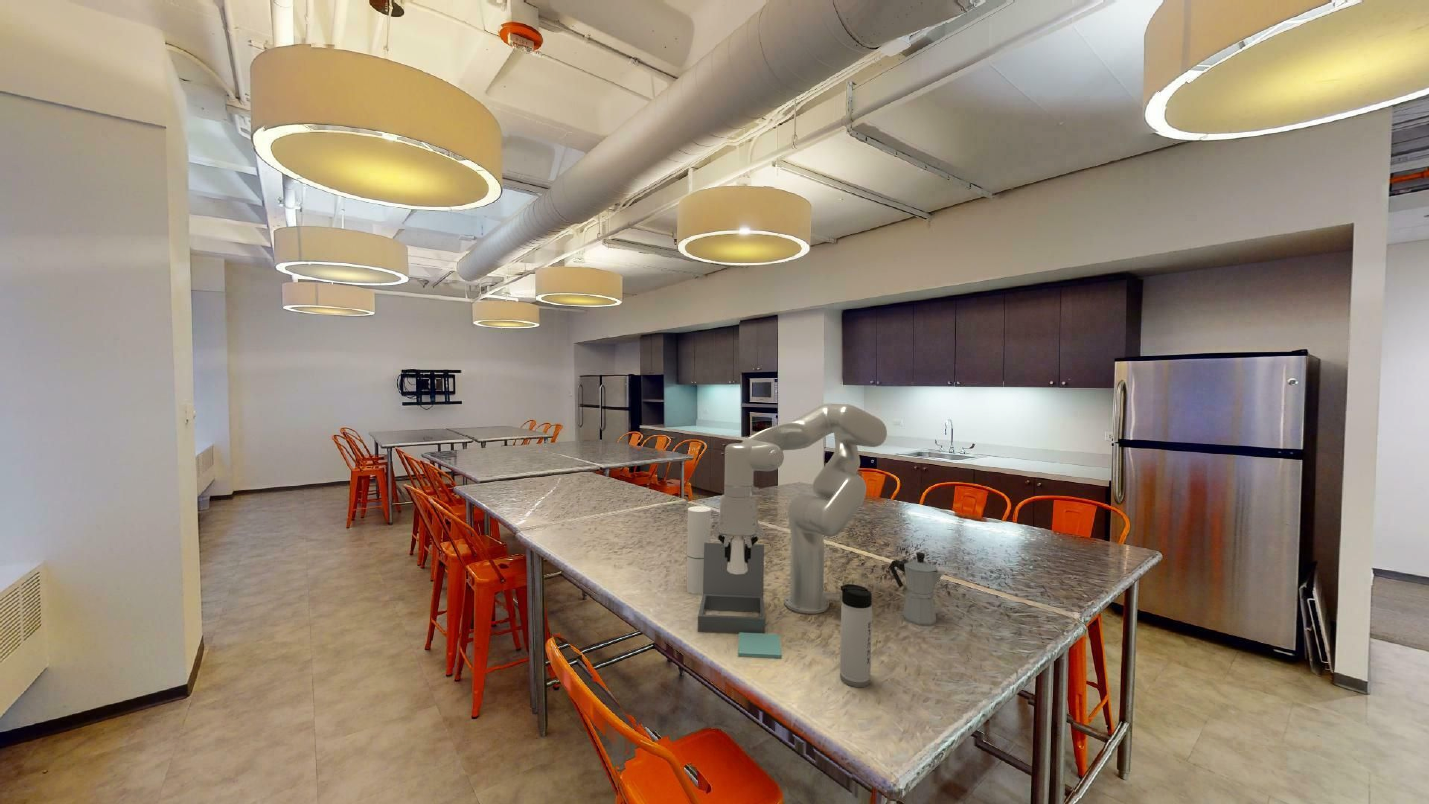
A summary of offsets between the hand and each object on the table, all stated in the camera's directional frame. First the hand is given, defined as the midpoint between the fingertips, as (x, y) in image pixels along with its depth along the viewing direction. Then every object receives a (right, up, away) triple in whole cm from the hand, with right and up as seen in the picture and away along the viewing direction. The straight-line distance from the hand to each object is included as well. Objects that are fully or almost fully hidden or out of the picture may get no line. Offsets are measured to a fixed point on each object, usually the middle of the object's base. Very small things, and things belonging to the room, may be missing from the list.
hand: (737, 560), depth 132 cm
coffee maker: (+49, -18, +7) cm, 53 cm away
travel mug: (+24, -18, -24) cm, 38 cm away
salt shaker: (0, -3, 0) cm, 3 cm away
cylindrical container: (-11, -17, +24) cm, 31 cm away
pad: (+5, -17, -10) cm, 21 cm away
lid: (-1, -6, +11) cm, 12 cm away
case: (-1, -17, +3) cm, 17 cm away
